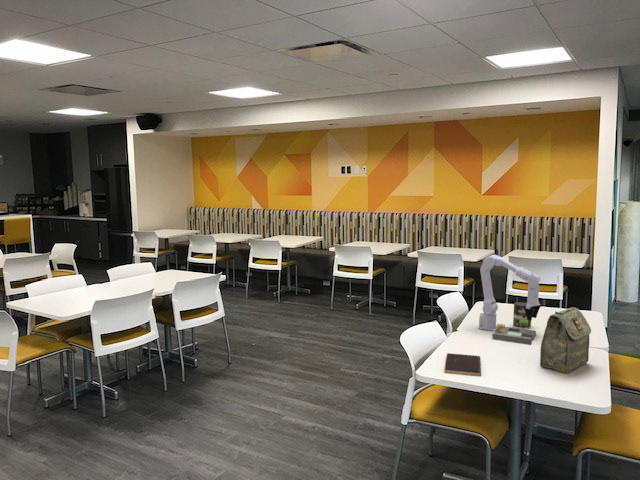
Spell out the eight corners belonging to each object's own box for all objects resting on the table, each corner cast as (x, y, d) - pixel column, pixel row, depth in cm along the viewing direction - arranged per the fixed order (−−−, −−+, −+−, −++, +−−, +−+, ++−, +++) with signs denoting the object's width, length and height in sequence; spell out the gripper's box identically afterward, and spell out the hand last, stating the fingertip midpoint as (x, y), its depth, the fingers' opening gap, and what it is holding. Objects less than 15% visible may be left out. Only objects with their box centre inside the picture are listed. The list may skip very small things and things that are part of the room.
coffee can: (532, 329, 312) (533, 306, 310) (514, 328, 313) (515, 305, 312) (528, 324, 322) (529, 302, 320) (511, 324, 323) (512, 301, 322)
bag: (571, 375, 239) (574, 316, 236) (537, 366, 251) (539, 310, 248) (591, 364, 254) (595, 308, 251) (558, 355, 266) (561, 302, 263)
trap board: (492, 339, 293) (492, 333, 293) (499, 330, 309) (499, 325, 308) (530, 344, 283) (530, 339, 283) (535, 335, 299) (535, 330, 298)
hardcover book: (444, 373, 243) (444, 368, 243) (447, 357, 265) (447, 353, 265) (480, 377, 239) (481, 372, 238) (480, 360, 261) (480, 356, 260)
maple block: (496, 332, 296) (496, 325, 295) (497, 330, 299) (497, 323, 299) (503, 333, 294) (503, 326, 293) (504, 331, 297) (505, 324, 297)
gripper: (535, 298, 289) (534, 322, 291) (544, 294, 300) (543, 317, 301) (522, 296, 294) (521, 320, 295) (532, 292, 304) (531, 315, 306)
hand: (531, 318), depth 299 cm, fingers open, 7 cm apart
